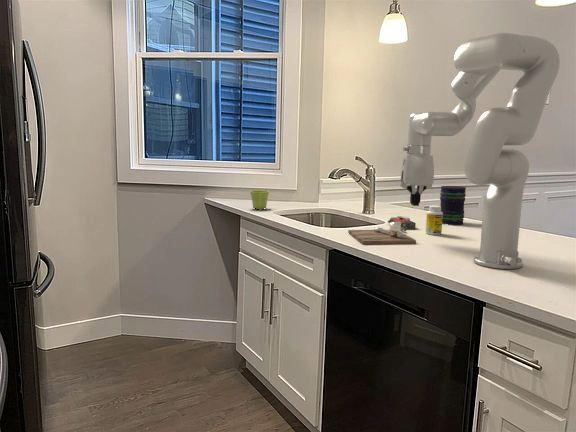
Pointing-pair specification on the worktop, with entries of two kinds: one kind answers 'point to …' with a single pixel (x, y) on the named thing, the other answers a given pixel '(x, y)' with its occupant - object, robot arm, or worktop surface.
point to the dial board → (379, 237)
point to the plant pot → (259, 198)
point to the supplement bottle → (434, 220)
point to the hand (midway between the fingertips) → (414, 205)
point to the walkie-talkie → (403, 222)
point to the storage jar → (452, 204)
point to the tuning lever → (391, 229)
